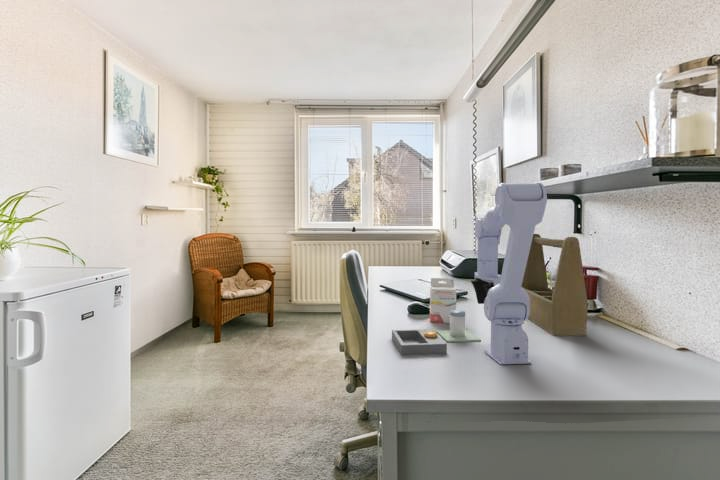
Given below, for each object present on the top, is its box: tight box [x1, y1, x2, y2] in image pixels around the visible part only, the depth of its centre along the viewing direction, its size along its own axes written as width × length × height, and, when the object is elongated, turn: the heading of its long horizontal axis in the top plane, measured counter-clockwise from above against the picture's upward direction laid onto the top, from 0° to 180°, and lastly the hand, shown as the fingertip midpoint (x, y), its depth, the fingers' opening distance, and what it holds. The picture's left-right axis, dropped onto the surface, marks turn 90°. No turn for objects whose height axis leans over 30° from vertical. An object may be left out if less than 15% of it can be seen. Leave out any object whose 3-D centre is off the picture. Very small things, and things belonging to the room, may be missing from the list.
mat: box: [436, 329, 482, 343], centre depth 114 cm, size 10×10×1 cm
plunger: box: [424, 331, 438, 338], centre depth 106 cm, size 4×4×3 cm
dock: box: [391, 328, 448, 356], centre depth 106 cm, size 14×12×2 cm
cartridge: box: [449, 309, 466, 337], centre depth 114 cm, size 4×4×7 cm
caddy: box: [521, 233, 589, 337], centre depth 129 cm, size 29×11×30 cm, turn 176°
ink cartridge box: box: [429, 277, 457, 324], centre depth 132 cm, size 9×5×15 cm, turn 84°
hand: (486, 306), depth 113 cm, fingers open, 7 cm apart
